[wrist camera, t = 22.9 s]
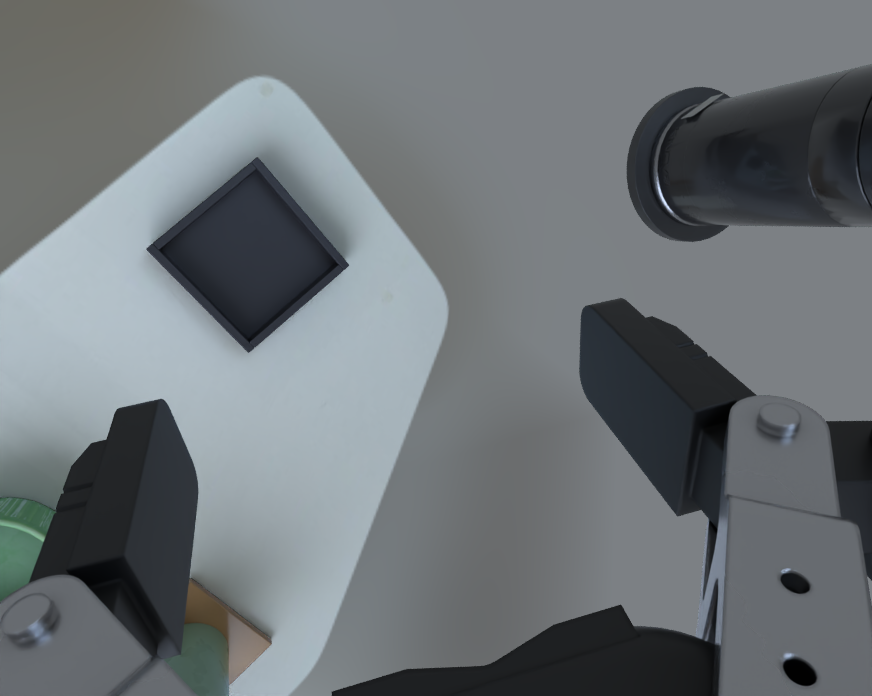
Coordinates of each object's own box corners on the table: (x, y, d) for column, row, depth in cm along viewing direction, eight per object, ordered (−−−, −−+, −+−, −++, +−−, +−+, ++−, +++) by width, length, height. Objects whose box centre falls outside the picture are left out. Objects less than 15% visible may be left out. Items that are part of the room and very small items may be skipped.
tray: (256, 159, 39) (257, 156, 38) (344, 263, 42) (349, 265, 41) (149, 247, 38) (145, 249, 37) (247, 347, 41) (248, 353, 40)
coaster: (190, 577, 43) (190, 582, 43) (271, 638, 46) (272, 644, 46) (101, 661, 42) (100, 667, 42) (189, 718, 45) (189, 724, 45)
